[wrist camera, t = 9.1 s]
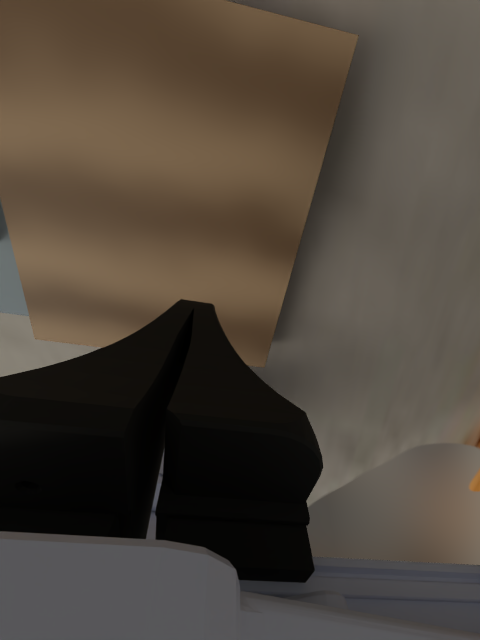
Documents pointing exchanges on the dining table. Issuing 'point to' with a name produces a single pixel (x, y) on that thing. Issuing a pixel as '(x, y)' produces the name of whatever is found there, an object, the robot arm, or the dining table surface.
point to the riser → (161, 159)
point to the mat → (9, 275)
